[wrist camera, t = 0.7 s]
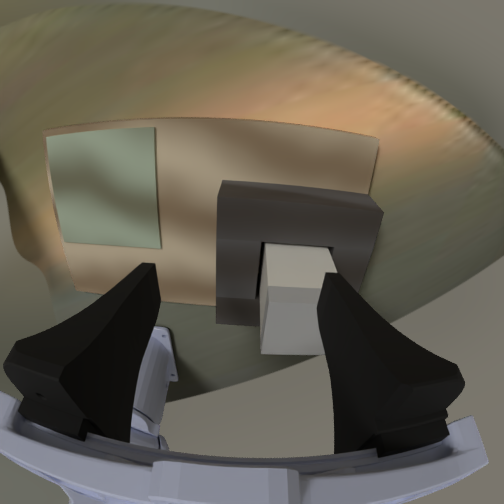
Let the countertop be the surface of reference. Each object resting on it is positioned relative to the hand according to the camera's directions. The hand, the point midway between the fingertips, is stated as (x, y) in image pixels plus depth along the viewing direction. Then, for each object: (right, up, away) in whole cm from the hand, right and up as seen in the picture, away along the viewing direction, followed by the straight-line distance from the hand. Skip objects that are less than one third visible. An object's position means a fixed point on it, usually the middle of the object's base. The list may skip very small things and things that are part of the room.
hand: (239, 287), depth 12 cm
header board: (-4, +4, +9) cm, 10 cm away
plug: (+3, +2, +9) cm, 10 cm away
